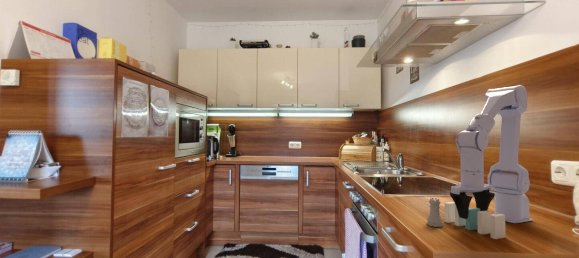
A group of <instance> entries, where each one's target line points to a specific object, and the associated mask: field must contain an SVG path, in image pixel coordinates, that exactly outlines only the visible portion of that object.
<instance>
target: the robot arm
mask: <svg viewBox="0 0 579 258" xmlns="http://www.w3.org/2000/svg"><path fill="white" fill-rule="evenodd" d="M484 99H485V100H484V102H485V104H484V106H483V109H482V110H481V112H480V113H478V114H475V115H474V116H473V118H472V119H471V121H470V123H469V124H468V125H467V127H466V128H465V129H464V130H462V131H461V132H458V134H457V135H456V139H455V144H456V147H457V153H458V155H459V157H460V183H457V185H452V186H450V188H451V189H450V190H451V191H450V192H449V196H450V197H451V198H452V202H454V203H455V205H456V208H457V211H458V214H459V217H460V218H463V219H467V218H468V212H469V208H470V203H471V201H472V199H473V198H474V202H475V208H479V209H480V211H489V207H490V205H491V202H492V200H493V199H494V213H492V215H496V214H503V215H505V222H508V223H512V224H519V223H524V222H525V223H526V222H531V221H533V218H530V200H529V198H528V195H526V194H525V193H527V192H528V191H529V190H530V186H531V185H530V184H531V182H530V177H529V170H527V168H526V167H524V166H522V164H520V163H519V150H520V149H519V147H520V133H521V132H520V131H521V130H520V129H521V118H522V114H524V113H525V112H527V110H528V109H527V108H528V91H527V89H526V87H525V86H524V85H523V84H519V85H514V86H507V87H499V88H489V89H488V90H487V91H486V92H485V95H484ZM497 115H500V117H501V123H500V124H501V125H500V139H499V140H500V142H499V156H498V162H496V163H495V164H492V165H491V166H490V169H489V173H488V174H487V183H485V169H484V168H485V165H484V161H485V159H484V158H485V157H484V151H485V150H486V149H487V147H488V144H489V139H490V135H489V134H490V133H491V131H492V130H493V128H494V126H495V124H496V121H495V118H496V116H497ZM470 193H472V195H473V196H471V195H468V194H470Z"/></svg>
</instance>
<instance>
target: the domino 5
mask: <svg viewBox="0 0 579 258" xmlns="http://www.w3.org/2000/svg"><path fill="white" fill-rule="evenodd" d="M490 226H491V233H490V238H491V239H493V240H500V239H504V238H506V221H505V215H503V214H496V215H490Z"/></svg>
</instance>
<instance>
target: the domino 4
mask: <svg viewBox="0 0 579 258" xmlns="http://www.w3.org/2000/svg"><path fill="white" fill-rule="evenodd" d="M492 214H493V213H492V211H490V210H488V211H479V212H477V218H478V229H477V234H479V235H488V234H491V226H490V215H492Z"/></svg>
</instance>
